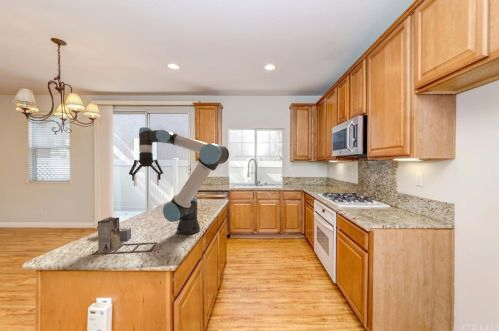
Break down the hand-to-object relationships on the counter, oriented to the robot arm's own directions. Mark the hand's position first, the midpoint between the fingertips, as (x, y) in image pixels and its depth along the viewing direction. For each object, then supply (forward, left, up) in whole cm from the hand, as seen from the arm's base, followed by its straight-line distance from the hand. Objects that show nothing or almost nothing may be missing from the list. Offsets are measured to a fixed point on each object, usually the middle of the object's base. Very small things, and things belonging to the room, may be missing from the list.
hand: (146, 185), depth 148 cm
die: (+11, +9, -31) cm, 34 cm away
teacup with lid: (+25, -3, -32) cm, 40 cm away
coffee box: (+12, +24, -32) cm, 42 cm away
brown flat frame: (+3, +24, -31) cm, 40 cm away
